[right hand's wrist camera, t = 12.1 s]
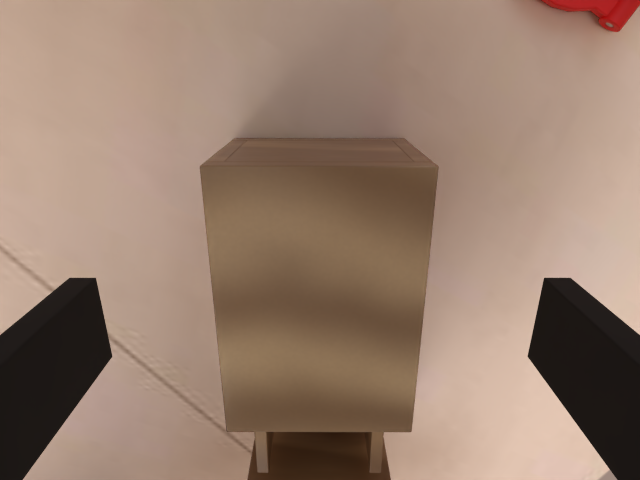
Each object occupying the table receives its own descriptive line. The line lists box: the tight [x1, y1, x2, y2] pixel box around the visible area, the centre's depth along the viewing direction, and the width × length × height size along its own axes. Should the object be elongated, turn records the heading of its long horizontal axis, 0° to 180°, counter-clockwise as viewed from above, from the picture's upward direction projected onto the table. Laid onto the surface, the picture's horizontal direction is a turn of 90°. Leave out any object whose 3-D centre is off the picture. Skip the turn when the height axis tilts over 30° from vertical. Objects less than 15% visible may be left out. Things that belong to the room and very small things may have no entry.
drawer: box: [248, 432, 391, 480], centre depth 32 cm, size 21×10×7 cm, turn 0°
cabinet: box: [200, 138, 438, 432], centre depth 28 cm, size 17×12×9 cm
